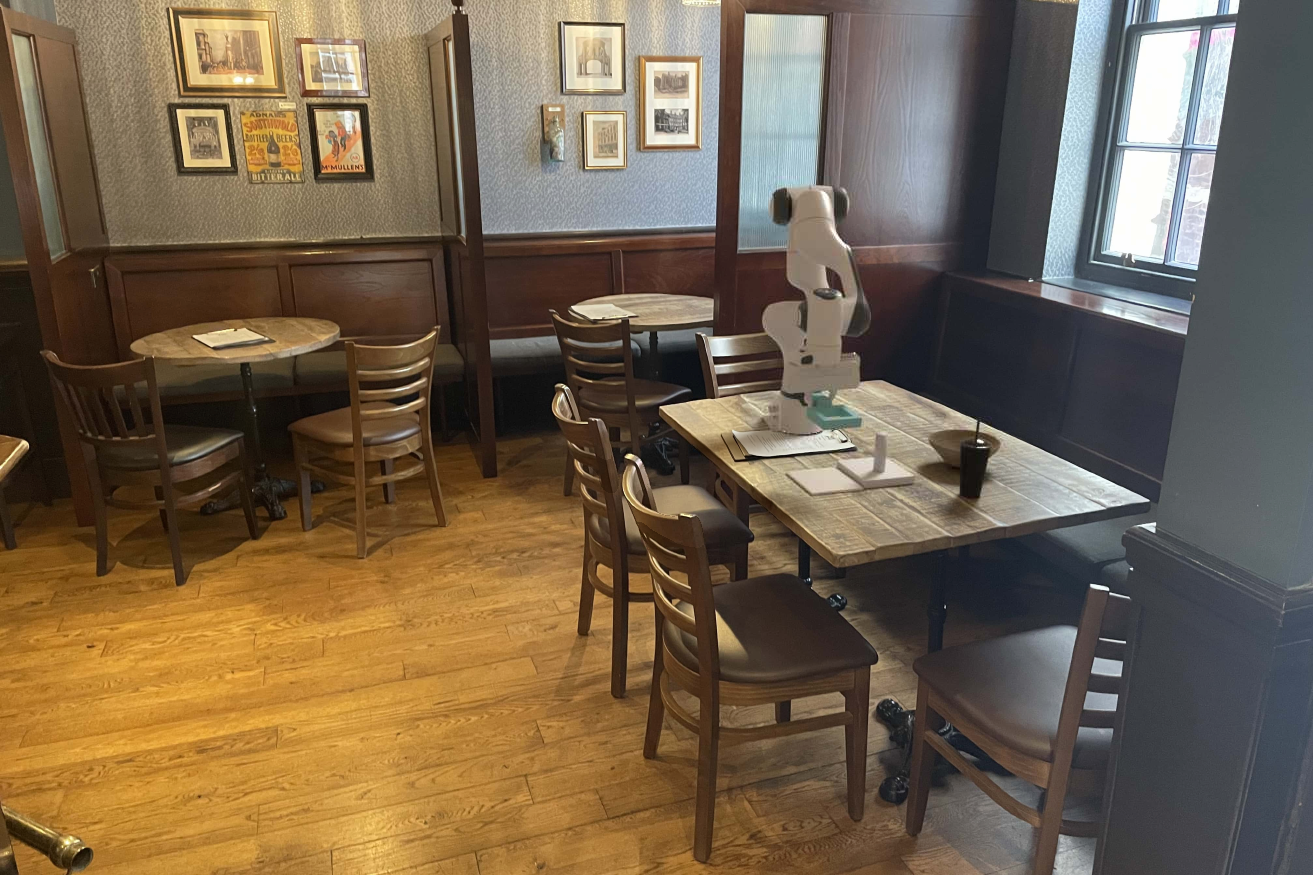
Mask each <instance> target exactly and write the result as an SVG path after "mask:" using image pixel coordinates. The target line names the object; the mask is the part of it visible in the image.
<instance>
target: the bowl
mask: <svg viewBox="0 0 1313 875" xmlns="http://www.w3.org/2000/svg"><path fill="white" fill-rule="evenodd" d="M975 435H976V430H969V429H962V428H961V429H945V430H940V431H935V432H932V433H931V434H930V435H929V436H928V439H927V440H928V443H929V444H930V446H931V448H933V450H935V452H936V453H937V454H938V455H939V456H940V457H941V459H942V460H943V461H944V462H945V463H946V464H947V465H950V466H952V467H955V468H957V469H958V468H959V469H960V444H959V442H960V440H962V439H966V438H970V437H975ZM978 438H982V439H985V440H987V441H989V442H991V443H992V448H991V450H990V454H989V458H988V459H990V458H991V457H992V456H994V455H996V453H997V452H998V451H999V449H1000V448H1001V446H1002V442H1001V441H1000V439H997V437H996V436H994V435H990V434H988V433H986V432H982V431H979V434H978Z"/></svg>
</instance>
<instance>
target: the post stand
mask: <svg viewBox="0 0 1313 875" xmlns="http://www.w3.org/2000/svg"><path fill="white" fill-rule="evenodd" d="M888 438H889V434H888V433H887V432H883V431H881V432H880V431H878V432H876V433H875V439H874V441H875V443H874V454H873V456H872V457H862V458H850V459H840V460H836V468H837V469H838V470H840V471H841V472H842V473H844V474H845V475H847V476H848V477H849V478H851V479H852V480H853V481H855V482H856V483H858V484H859V485H860V486H862V487H863V489H871V488H882V487H890V486H891V487H892V486H893V487H894V486H899V485H900V486H901V485H910V484H911V485H912V484H915V479H916V476H915V475H914V474H913V473H911V472H909V471H908V470H907V469H905V468H903V467H901V466H900V465H899V464H897V463H895V462H894V461H892V460H890V459H889V458H888V457H887V453H888V452H887V451H888V450H887V449H888V440H889V439H888Z"/></svg>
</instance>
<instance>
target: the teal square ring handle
mask: <svg viewBox="0 0 1313 875" xmlns="http://www.w3.org/2000/svg"><path fill="white" fill-rule="evenodd" d="M811 398H812V400H814V401H816V407H807V418H809V419H810V420H811V421H812V422H814V423H815V424H816V425H818V426H819V427H820V428H821V429H823V431H831V430H832V431H833V430H845V429H846V430H847V429H856V428H857V429H858V428H861V427H862V421H863V417H862V416H860V414H857V413H856V412H855V411H853V410H852V409H850V408H849V407H848V406H846V405H845V404H836V405H833V404H832V406H831V399H829V398H828V396H826V395H825V394H824V393H823V392H822V393H813V396H811Z"/></svg>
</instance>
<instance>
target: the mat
mask: <svg viewBox="0 0 1313 875" xmlns="http://www.w3.org/2000/svg"><path fill="white" fill-rule="evenodd" d="M786 475H787V476H788V477H790V478H791V480H793V481H794V482H795V483H796V484H797V485H799V486H800V487H801V488H803V489H804V490H805V491H806V492H808V493H809V495H811V496H821V495H830V494H838V493H839V494H840V493H849V492H857V491H858V492H859V491H864V487H862V486H861V485H860V484H858V483H857V482H856V481H854V480H853V479H852V478H850V477H849V476H847V475H846V474H845V473H843V472H842V471H841V470H839V469H838V468H837V466H836V467H835V466H834V467H832V466H829V467H821V468H813V469H811V468H810V469H801V470H791V471H786Z"/></svg>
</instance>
